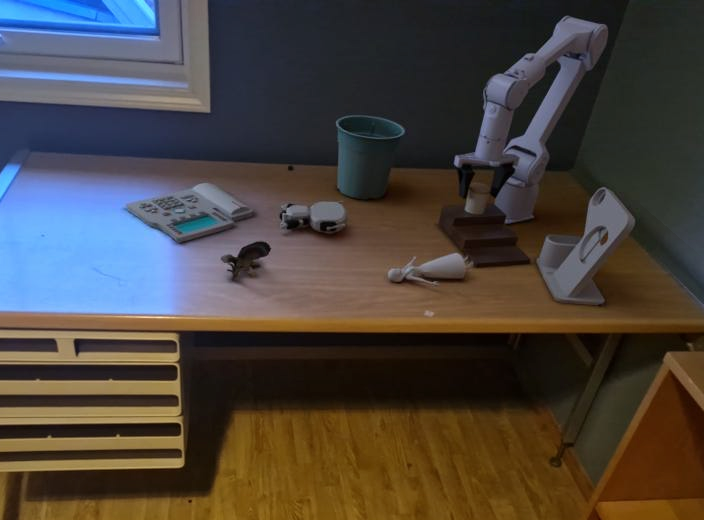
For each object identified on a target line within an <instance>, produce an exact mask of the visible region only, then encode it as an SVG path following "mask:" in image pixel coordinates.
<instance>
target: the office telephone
mask: <svg viewBox="0 0 704 520" xmlns="http://www.w3.org/2000/svg"><path fill="white" fill-rule="evenodd" d="M125 207H126V208H125V209H126V210H127V211H128V212H130V213H131V214H132V215H134V216H135V217H136V218H138V219H140V220H141V221H143V222H144V223H145V224H147V225H148V226H150V227H152V228H157V229H159V230H161V231H162V232H164V233H165V234H167V235H168V236H169V237H171V238H172V239H174V240H175V242H176V243H182V242H183V243H184V242H187V241H190V240H193V239H194V240H195V239H197V238H201V237H205V236H207V235H212V234H215V233H218V232H221V231H225V230H229V229H231V228H234V226H235V222H236V221H240V220H244V219H247V218H251V217H253V216H254V215H253V214H254V210H253V209H252V208H250V207H249V206H248V205H246V204H245V203H243V202H241V201H239V199H237V198H235V197H234V196H233V195H231V194H229V193H228V192H226V191H224V190H223V189H222V188H220V187H219V186H216V185H215V184H214V183H208V182H202V183H199V184H197V185H195V186H193V187H192V188H188V189H184V190H180V191H175V192H172V193H166V194H163V195H158V196H155V197H150V198H147V199H142V200H137V201H132V202H128V203H125Z"/></svg>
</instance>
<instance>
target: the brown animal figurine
mask: <svg viewBox="0 0 704 520" xmlns="http://www.w3.org/2000/svg"><path fill="white" fill-rule="evenodd" d="M271 250H272V247H271V245H270V244H269V243H267V242H266V241H262V240H260V241H254V242H252V243H249V244H247V245H244V246H243V247H241V248H240V250H239V252H238V254H237V255H236V256H234V255H233V254H230V253H228V254H224V255H221V256H220V261H222V263H224V264H227V265H229V266H230V267H231V269H229V268H228V269H226V271H227V272H230V273H231V275H232V276H231V281H232V282H233V281H234V280H235V279H237V278H238V277H239V274H240V273H241V272H246V273H248V274H249V275H251V276H252V277H253V278H255V271H254V270H253V269H252V267H251V266H250V265H255V266H261V263H260V262H258V261H256V260H259V259H261V258H265V257H267V256H269V254H270V252H271Z"/></svg>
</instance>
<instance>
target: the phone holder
mask: <svg viewBox="0 0 704 520" xmlns="http://www.w3.org/2000/svg"><path fill="white" fill-rule="evenodd" d="M635 223H636V218H635V217H634V216H633V214H632V213H631V212H630V211H629V210H628V209H627V207H626V206H625V204H623V202H621V200H620V199H619V198H618V197H617V195H616V194H615V192H613V191H612V190H611V189H608V188H607V187H603V186H602V187H600V188H598V189H597V190H596V191H595V192H594V194H593V195H592V196H591V198H590V200H589V202H588V206H587V213H586V219H585V227H584V232H583V233H584V234H583V236H575V235H564V234H563V235H561V234H548V235H547V236H546V237H545V240H544V243H543V246H542V248H541V252H540V255H539V257H537V258H536V261H535V264H536V266H537V267H538V269H539V271H540V274H541V275H542V278H543V279H544V281H545V283H546V285H547V287H548V290H549V292H550V293H551V295H552V297H553V299H554V300H555V301H556V302H558V303H561V304H562V303H563V304H575V305H585V306H586V305H587V306H599V305H601V306H603V305H604V304H605V298H604V296H603V295H602V293H601V291H600V290H599V288H598V286H597V285H596V283H595V282H594V279H593V277H594V276H595V275H596V274H597V273H598V272H599V271H600V269H601V268H602V267H603V266H604V264H605V263H606V262H607V261H608V260H609V259H610V258H611V256H612V255H613V254H614V253H615V251H616V250H617V249H619V248H618V247H620V245H621V244H622V243H623V242H624V241H625V239H626V238H627V237H628V236H629V234H630V233H631V232H632V231H633V229H634V227H635V225H636V224H635ZM606 234H607V240H606V242H605V243H603V244H601V242H602V240H603V238H604V237H605V235H606Z"/></svg>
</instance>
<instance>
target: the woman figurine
mask: <svg viewBox="0 0 704 520" xmlns="http://www.w3.org/2000/svg"><path fill="white" fill-rule="evenodd" d="M417 257H418V256H417V255H415V256H413V258H412V260H411V261H410V262H408V263H407V265H405V266H404V267H402V269H401V268H391V269H390V270H388V272H387V277H388V279H389V280H390V281H392V282H394V283H400V282H402V281H403V280H404V278H405V279H406V280H408V281H415V282H416V281H417V282H420V283H422V284H423V283H425V284H428V285H432V286H434V287H441V284H440V283H438V282H437V281H433V282H432V281H430V280H426V279H424V278H422V277H417V276H418V275H421V276H423V277H425V278H428V279H429V278H430V279H441V280H442V279H443V280H450V279H452V280H457V279H464V278H465V275H466V271H468V270H471V269H473V267H474V265H473V261H472V262H471V261H470V263H469V264H468V265H466V264H467V263H468V261H469V259H468V256H467V257H466V256H465V258H463V257H462V255H461V254H460V253H458V252H454V253H450V254H447V255H443V256H441V257H438V258H435V259H432V260H430V261H427V262H425V263H423V264H421V265H419V266H415V265H414V262H415V260H416V259H417Z"/></svg>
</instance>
